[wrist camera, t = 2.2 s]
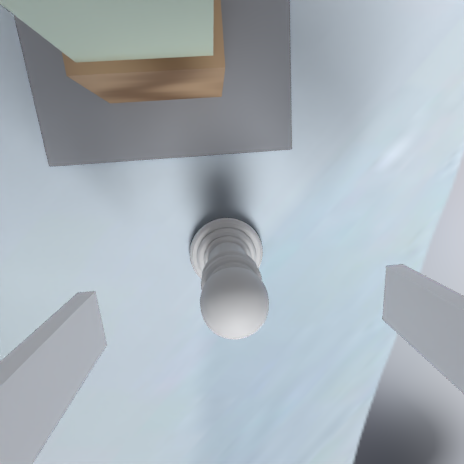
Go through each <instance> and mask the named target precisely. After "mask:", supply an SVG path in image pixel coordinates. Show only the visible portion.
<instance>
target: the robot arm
mask: <svg viewBox="0 0 464 464" xmlns="http://www.w3.org/2000/svg"><path fill="white" fill-rule="evenodd" d="M382 319H383V320H384V321H385V322H386V323H387V324H388V325H389V326H390V327H391V328H392V329H394V330H395V331H396V332H397V333H398V334H399V335H400V336H401V337H402V338H403V339H404V340H406V341H407V342H408V343H409V344H410V345H411V346H412V347H413V348H414V349H415V350H416V351H417V352H419V353H420V354H421V355H422V356H423V357H424V358H425V359H426V360H427V361H428V362H430V363H431V364H432V365H433V366H434V367H435V368H436V369H437V370H438V371H439V372H440V373H441V374H442V375H444V376H445V377H446V378H447V379H448V380H449V381H450V382H451V383H452V384H454V386H456V387H457V388H458V389H459V390H460V391H461V392H462V393H463V394H464V296H463V295H461V294H459V293H457V292H455V291H453V290H451V289H449V288H447V287H446V286H444V285H442V284H440V283H438V282H436V281H434V280H432V279H430V278H428V277H426V276H424V275H423V274H421V273H419V272H417V271H415V270H413V269H411V268H409V267H407V266H405V265H403V264H399V265H388V266H386V277H385V290H384V303H383V317H382ZM106 346H107V343H106V338H105V333H104V329H103V324H102V320H101V315H100V310H99V306H98V301H97V296H96V292H95V291H92V292H80V293H77V294H76V295H75V296H73V297H72V298H71V299H70V300H69V301H68V302H67V303H66V304H64V305H63V306H62V307H61V308H60V309H59V310H58V311H57V312H55V313H54V314H53V315H52V316H51V317H50V318H49V319H48V320H46V321H45V322H44V323H43V324H42V325H41V326H40V327H39V328H37V329H36V330H35V331H34V332H33V333H32V334H31V335H30V336H28V337H27V338H26V339H25V340H24V341H23V342H22V343H20V344H19V345H18V346H17V347H16V348H15V349H14V350H13V351H11V352H10V353H9V354H8V355H7V356H6V357H5V358H4V359H2V360H1V361H0V464H33V462H34V461H35V459H36V458H37V456H38V455H39V453H40V451H41V450H42V448H43V447H44V445H45V443H46V442H47V440H48V439H49V437H50V435H51V434H52V432H53V431H54V429H55V427H56V426H57V424H58V423H59V421H60V419H61V418H62V416H63V415H64V413H65V411H66V410H67V408H68V407H69V405H70V403H71V402H72V400H73V399H74V397H75V396H76V394H77V392H78V391H79V389H80V388H81V386H82V384H83V383H84V381H85V380H86V378H87V376H88V375H89V373H90V372H91V370H92V368H93V367H94V365H95V364H96V362H97V360H98V359H99V357H100V356H101V354H102V352H103V351H104V349H105V348H106Z"/></svg>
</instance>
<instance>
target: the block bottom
mask: <svg viewBox="0 0 464 464" xmlns="http://www.w3.org/2000/svg"><path fill="white" fill-rule="evenodd" d="M62 56H63V61H64V66H65V71H66V76H67V77H69V78H71V79H72V80H74V81H75V82H77V83H79V84H80V85H82V86H83V87H85V88H86V89H88V90H90V91H91V92H93V93H94V94H96V95H97V96H99V97H101V98H102V99H104V100H105V101H107V102H109V103H125V102H142V101H159V100H176V99H193V98H210V97H222V90H223V82H224V74H225V55H224V41H223V26H222V12H221V0H214V24H213V56H194V57H175V58H155V59H135V60H116V61H96V62H74V61H73V60H72V59H71V58H69V57H68V56H67V55H65V54H64V53H63V52H62Z"/></svg>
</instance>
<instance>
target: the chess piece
mask: <svg viewBox="0 0 464 464" xmlns="http://www.w3.org/2000/svg"><path fill="white" fill-rule="evenodd" d="M262 255H263V249H262V243H261V240H260V238H259V236H258V234H257V233H256V231H255V230H254V229H253V228H252V227H251V226H249V225H248V224H247V223H245V222H243V221H241V220H238V219H233V218H220V219H216V220H213V221H211V222H209V223H207V224H205V225H204V226H203V227H202V228H200V229H199V230H198V232H197V233H196V234H195V236H194V238H193V240H192V242H191V246H190V261H191V264H192V267H193V269H194V271H195V272H196V274H197V275H198V276H199V277H200V278H201V289H202V292H201V297H200V307H201V313H202V316H203V319H204V321H205V323H206V324H207V326H208V327H209V328H210V329H211V330H212V331H213V332H214V333H215V334H217V335H218V336H220V337H223V338H227V339H242V338H246V337H248V336H250V335H252V334H254V333H255V332H257V331H258V330H259V329H260V328H261V327H262V325H263V324H264V322H265V320H266V318H267V315H268V310H269V299H268V294H267V290H266V288H265V285H264V283H263V282H262V278H261V274H260V271H259V267H260V264H261V261H262Z"/></svg>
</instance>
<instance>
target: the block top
mask: <svg viewBox="0 0 464 464" xmlns="http://www.w3.org/2000/svg"><path fill="white" fill-rule="evenodd" d="M0 4H1V5H2V6H3V7H5V8H6V9H7V10H9V11H10V12H11V13H12V14H14V15H15V16H16V17H18V18H19V19H20V20H21V21H23V22H24V23H25V24H27V25H28V26H29V27H31V28H32V29H33V30H34V31H36V32H37V33H38V34H40V35H41V36H42V37H43V38H45V39H46V40H47V41H49V42H50V43H51V44H52V45H54V46H55V47H56V48H58V49H59V50H60V51H62V52H63V53H64V54H65V55H67V56H68V57H69V58H71V59H72V60H73V61H74V62H96V61H116V60H135V59H155V58H175V57H194V56H213V24H214V0H0Z"/></svg>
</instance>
